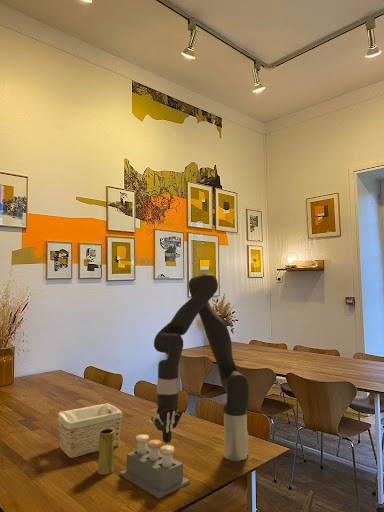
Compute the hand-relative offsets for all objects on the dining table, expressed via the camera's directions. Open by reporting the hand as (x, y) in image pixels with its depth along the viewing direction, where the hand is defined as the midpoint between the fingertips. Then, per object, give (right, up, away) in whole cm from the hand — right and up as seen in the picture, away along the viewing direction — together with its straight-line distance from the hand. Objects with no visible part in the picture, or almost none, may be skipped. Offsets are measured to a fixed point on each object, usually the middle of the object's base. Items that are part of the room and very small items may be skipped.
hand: (166, 442), depth 130 cm
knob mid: (-5, -10, +4) cm, 12 cm away
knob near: (0, -10, -1) cm, 10 cm away
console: (-5, -15, +3) cm, 16 cm away
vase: (-23, -15, +9) cm, 29 cm away
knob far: (-10, -11, +9) cm, 17 cm away
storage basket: (-35, -18, +31) cm, 50 cm away
